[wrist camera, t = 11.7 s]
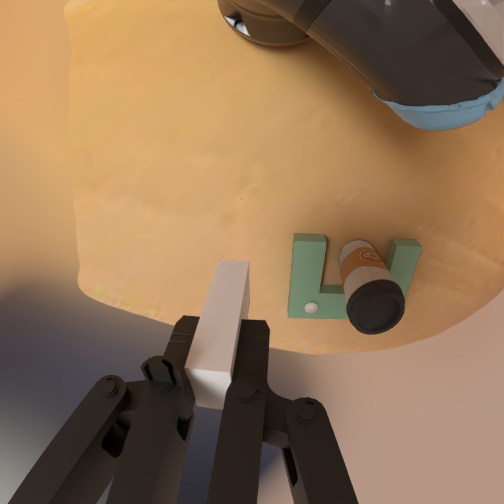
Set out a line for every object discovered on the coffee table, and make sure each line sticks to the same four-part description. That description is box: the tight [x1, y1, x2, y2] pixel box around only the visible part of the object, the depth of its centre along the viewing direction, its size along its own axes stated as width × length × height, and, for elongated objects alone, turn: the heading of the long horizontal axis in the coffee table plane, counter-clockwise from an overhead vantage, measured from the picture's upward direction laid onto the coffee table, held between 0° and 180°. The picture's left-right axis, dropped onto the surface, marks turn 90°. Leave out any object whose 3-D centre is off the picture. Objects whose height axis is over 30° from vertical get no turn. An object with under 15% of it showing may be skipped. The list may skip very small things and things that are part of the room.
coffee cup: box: [339, 240, 405, 334], centre depth 40 cm, size 8×8×15 cm
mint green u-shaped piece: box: [288, 234, 422, 319], centre depth 48 cm, size 16×22×3 cm
